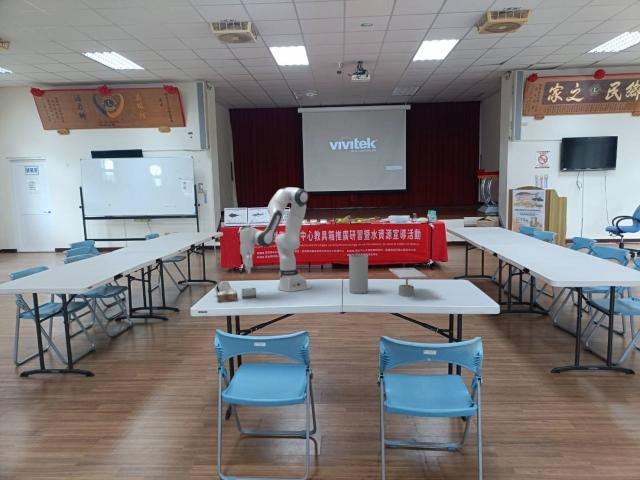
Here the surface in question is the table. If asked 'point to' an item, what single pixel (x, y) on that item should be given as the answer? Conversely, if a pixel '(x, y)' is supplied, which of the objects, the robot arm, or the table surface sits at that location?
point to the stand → (227, 296)
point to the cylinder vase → (358, 273)
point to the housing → (248, 293)
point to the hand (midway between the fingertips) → (248, 272)
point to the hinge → (223, 287)
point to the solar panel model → (407, 273)
